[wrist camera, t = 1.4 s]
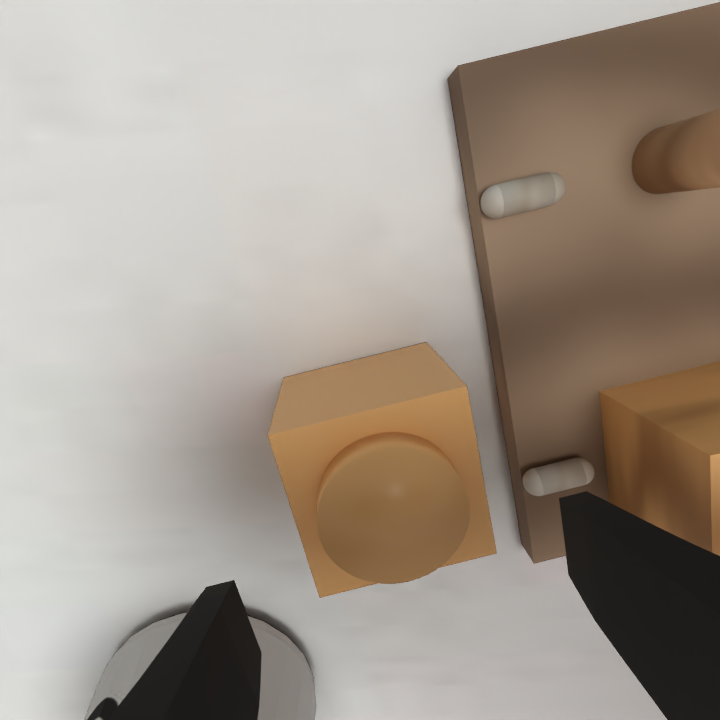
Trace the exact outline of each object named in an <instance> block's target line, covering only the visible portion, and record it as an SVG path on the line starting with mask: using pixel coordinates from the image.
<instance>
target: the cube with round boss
mask: <svg viewBox="0 0 720 720" xmlns="http://www.w3.org/2000/svg"><path fill="white" fill-rule="evenodd" d="M268 438H269V441H270V444H271V447H272V450H273V453H274V456H275V460H276V463H277V466H278V469H279V472H280V475H281V478H282V481H283V485H284V488H285V491H286V494H287V497H288V500H289V503H290V506H291V510H292V513H293V516H294V519H295V522H296V525H297V528H298V532H299V535H300V538H301V541H302V544H303V547H304V550H305V553H306V557H307V560H308V563H309V566H310V569H311V572H312V575H313V578H314V582H315V585H316V588H317V591H318V594H319V597H320V598H321V597H325V596H329V595H333V594H337V593H341V592H345V591H349V590H353V589H357V588H361V587H365V586H369V585H373V584H377V583H381V584H394V583H403V582H408V581H412V580H415V579H418V578H421V577H423V576H425V575H428V574H429V573H431V572H433V571H435V570H436V569H438V568H440V567H444V566H448V565H452V564H456V563H460V562H464V561H468V560H472V559H476V558H480V557H484V556H488V555H492V554H496V553H497V552H496V546H495V541H494V535H493V529H492V524H491V518H490V513H489V507H488V501H487V496H486V490H485V485H484V479H483V473H482V468H481V462H480V457H479V451H478V445H477V440H476V434H475V429H474V423H473V418H472V412H471V406H470V401H469V395H468V390H467V386H466V385H465V383H464V382H463V381H462V380H461V379H460V378H459V377H458V376H457V375H456V374H455V373H454V371H453V370H452V369H451V368H450V367H449V366H448V365H447V364H446V363H445V362H444V361H443V360H442V358H441V357H440V356H439V355H438V354H437V353H436V352H435V351H434V350H433V349H432V348H431V346H430V345H429V344H428V343H427V342H425V343H421V344H417V345H413V346H409V347H405V348H401V349H397V350H393V351H389V352H385V353H381V354H377V355H373V356H369V357H365V358H360V359H356V360H352V361H348V362H344V363H340V364H336V365H332V366H328V367H324V368H320V369H316V370H312V371H308V372H304V373H300V374H296V375H292V376H288V377H284V378H283V382H282V385H281V389H280V393H279V396H278V400H277V404H276V407H275V411H274V415H273V418H272V422H271V426H270V429H269V433H268Z"/></svg>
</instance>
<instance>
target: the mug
mask: <svg viewBox="0 0 720 720" xmlns="http://www.w3.org/2000/svg"><path fill="white" fill-rule="evenodd" d="M187 613H188V612H186V613H182V614H179V615H175V616H172V617H169V618H166V619H163V620H160V621H157V622H154V623H152V624H151V625H149V626H147V627H146V628H144V629H143V630H141V631H139V632H138V633H136V634H134V635H133V636H131V637H130V638H129V639H128V640H127V641H126V642H125V644H124V645H123V646H122V647H121V648H120V649H119V650H118V651H117V652H116V653H115V654H114V656H113V657H112V659H111V660H110V661H109V663H108V664H107V666H106V668H105V670H104V673H103V675H102V677H101V679H100V681H99V683H98V685H97V688H96V690H95V693H94V695H93V698H92V700H91V703H90V706H89V708H88V711H87V714H86V716H85V719H84V720H107V719H108V718H109V717H110V716H111V714H112V713H113V712H114V710H115V709H116V708H117V707H118V705H119V704H120V703H121V702H122V700H123V699H124V698H125V697H126V695H127V694H128V693H129V692H130V690H131V689H132V688H133V686H134V685H135V684H136V683H137V681H138V680H139V679H140V677H141V676H142V675H143V673H144V672H145V671H146V669H147V668H148V667H149V665H150V664H151V662H152V661H153V660H154V658H155V657H156V656H157V654H158V653H159V652H160V650H161V649H162V648H163V646H164V645H165V643H166V642H167V641H168V639H169V638H170V637H171V635H172V634H173V632H174V631H175V630H176V628H177V627H178V625H179V624H180V623H181V621H182V620H183V618H184V617H185V616H186V614H187ZM248 618H249V621H250V623H251V626H252V629H253V631H254V634H255V637H256V639H257V642H258V644H259V647H260V650H261V652H262V658H261V685H260V703H259V712H258V719H257V720H315V712H316V698H315V688H314V680H313V674H312V672H311V670H310V667H309V665H308V663H307V661H306V659H305V657H304V655H303V653H302V652H301V651H300V650H299V649H298V648H297V647H296V646H295V644H294V643H293V642H292V641H291V640H290V639H289V638H288V637H287V636H286V635H284V634H283V633H281V632H279V631H278V630H276V629H275V628H273V627H271V626H270V625H268V624H267V623H265V622H263V621H261V620H258V619H256V618H253V617H250V616H248Z"/></svg>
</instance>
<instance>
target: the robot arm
mask: <svg viewBox="0 0 720 720" xmlns="http://www.w3.org/2000/svg"><path fill="white" fill-rule="evenodd" d="M559 503H560V511H561V518H562V526H563V534H564V542H565V550H566V558H567V566H568V574H569V576H570V578H571V580H572V581H573V583H574V585H575V587H576V589H577V590H578V592H579V594H580V596H581V597H582V599H583V601H584V603H585V604H586V606H587V608H588V609H589V611H590V613H591V614H592V616H593V618H594V620H595V621H596V623H597V624H598V625H599V627H600V628H601V630H602V631H603V632H604V634H605V635H606V636H607V638H608V639H609V641H610V642H611V643H612V645H613V646H614V647H615V649H616V650H617V652H618V653H619V654H620V656H621V657H622V658H623V660H624V661H625V663H626V664H627V665H628V667H629V668H630V669H631V671H632V672H633V673H634V675H635V676H636V677H637V679H638V680H639V681H640V683H641V684H642V686H643V687H644V688H645V690H646V691H647V692H648V694H649V695H650V696H651V698H652V699H653V700H654V702H655V703H656V705H657V706H658V707H659V709H660V710H661V711H662V713H663V714H664V715H665V717H666V718H667V720H720V556H719V555H716V554H714V553H712V552H710V551H708V550H705V549H703V548H701V547H699V546H697V545H694V544H692V543H690V542H688V541H686V540H684V539H682V538H680V537H678V536H675V535H673V534H671V533H669V532H667V531H665V530H663V529H661V528H659V527H657V526H655V525H653V524H651V523H649V522H647V521H645V520H643V519H641V518H639V517H637V516H635V515H633V514H631V513H629V512H627V511H625V510H623V509H621V508H619V507H617V506H615V505H614V504H612V503H610V502H608V501H606V500H604V499H602V498H600V497H598V496H595V495H593V494H591V493H589V492H587V491H585V492H581V493H577V494H573V495H569V496H565V497H561V498H559ZM261 658H262V652H261V650H260V647H259V644H258V642H257V639H256V637H255V634H254V631H253V629H252V626H251V623H250V621H249V618H248V616H247V613H246V610H245V608H244V605H243V602H242V600H241V597H240V595H239V592H238V589H237V587H236V584H235V581H234V580H233V581H229V582H225V583H221V584H217V585H213V586H209V587H206V588H205V590H204V591H203V592H202V594H201V595H200V596H199V598H198V599H197V600H196V602H195V603H194V604H193V606H192V607H191V609H190V610H189V611H188V613H187V614H186V616H185V617H184V618H183V620H182V621H181V623H180V624H179V625H178V627H177V628H176V630H175V631H174V632H173V634H172V635H171V637H170V638H169V639H168V641H167V642H166V643H165V645H164V646H163V648H162V649H161V650H160V652H159V653H158V654H157V656H156V657H155V658H154V660H153V661H152V662H151V664H150V665H149V667H148V668H147V669H146V671H145V672H144V673H143V675H142V676H141V677H140V679H139V680H138V681H137V683H136V684H135V685H134V686H133V688H132V689H131V690H130V692H129V693H128V694H127V695H126V697H125V698H124V699H123V700H122V702H121V703H120V704H119V705H118V707H117V708H116V709H115V710H114V712H113V713H112V714H111V716H110V717H109V718H108V719H107V720H257V719H258V712H259V703H260V685H261Z"/></svg>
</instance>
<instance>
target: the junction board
mask: <svg viewBox="0 0 720 720" xmlns="http://www.w3.org/2000/svg"><path fill="white" fill-rule="evenodd" d="M448 84H449V90H450V96H451V103H452V109H453V115H454V122H455V128H456V134H457V140H458V147H459V153H460V159H461V165H462V172H463V178H464V184H465V191H466V197H467V203H468V209H469V216H470V222H471V228H472V235H473V241H474V247H475V253H476V260H477V266H478V272H479V279H480V285H481V291H482V297H483V304H484V310H485V316H486V322H487V329H488V335H489V341H490V348H491V354H492V360H493V366H494V373H495V379H496V385H497V392H498V398H499V404H500V410H501V417H502V423H503V429H504V436H505V442H506V448H507V454H508V461H509V467H510V473H511V480H512V486H513V492H514V498H515V505H516V511H517V517H518V523H519V530H520V536H521V542H522V545H523V547H524V548H525V550H526V552H527V553H528V555H529V556H530V558H531V560H532V561H533V563H538V562H542V561H546V560H550V559H554V558H558V557H562V556H566V550H565V542H564V534H563V526H562V518H561V511H560V503H559V498H561V497H565V496H569V495H573V494H577V493H581V492H585V491H587V492H589V493H591V494H593V495H595V496H598V497H600V498H602V499H604V500H606V501H608V502H610V503H612V504H614V505H615V506H617V507H619V508H621V509H623V510H625V511H627V512H629V513H631V514H633V515H635V516H637V517H639V518H641V519H643V520H645V521H647V522H649V523H651V524H653V525H655V526H657V527H659V528H661V529H663V530H665V531H667V532H669V533H671V534H673V535H675V536H678V537H680V538H682V539H684V540H686V541H688V542H690V543H692V544H694V545H697V546H699V547H701V548H703V549H705V550H708V551H710V552H712V553H714V554H716V555H719V556H720V2H719V3H714V4H710V5H706V6H702V7H698V8H694V9H690V10H685V11H681V12H677V13H673V14H669V15H665V16H661V17H657V18H652V19H648V20H644V21H640V22H636V23H632V24H628V25H623V26H619V27H615V28H611V29H607V30H603V31H599V32H595V33H590V34H586V35H582V36H578V37H574V38H570V39H566V40H561V41H557V42H553V43H549V44H545V45H541V46H537V47H533V48H528V49H524V50H520V51H516V52H512V53H508V54H504V55H500V56H495V57H491V58H487V59H483V60H479V61H475V62H471V63H466V64H462V65H458V66H457V68H456V69H455V70H454V71H453V72H452V74H451V75H450V76H449V77H448Z"/></svg>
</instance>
